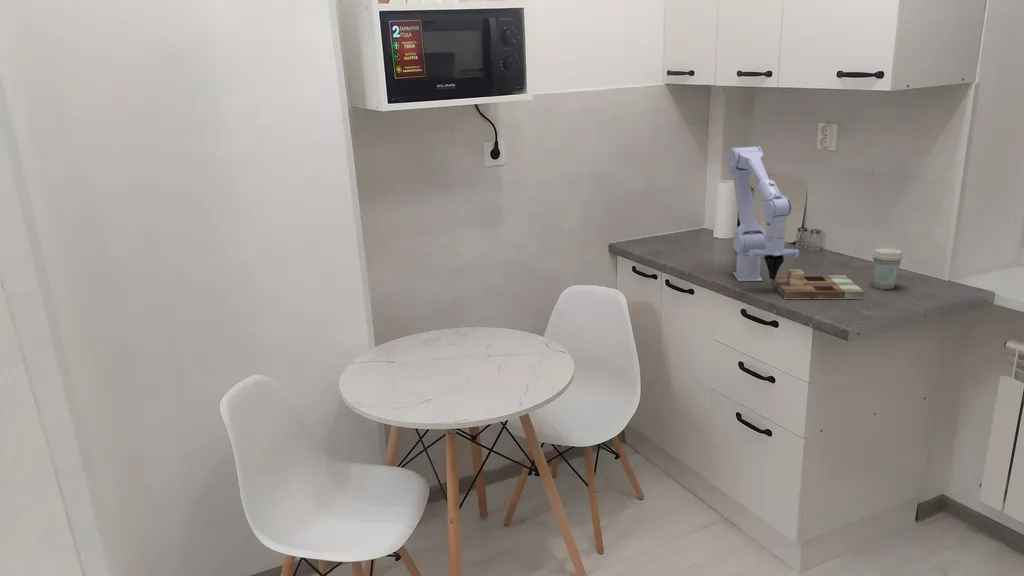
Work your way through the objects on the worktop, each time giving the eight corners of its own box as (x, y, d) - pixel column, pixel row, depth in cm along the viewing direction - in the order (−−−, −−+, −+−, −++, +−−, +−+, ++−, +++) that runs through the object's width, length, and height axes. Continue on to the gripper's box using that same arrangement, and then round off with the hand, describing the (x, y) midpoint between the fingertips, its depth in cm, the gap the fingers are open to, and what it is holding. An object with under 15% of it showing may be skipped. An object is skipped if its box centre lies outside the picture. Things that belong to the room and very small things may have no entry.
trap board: (771, 283, 234) (772, 275, 234) (844, 282, 232) (845, 275, 231) (784, 299, 218) (785, 292, 218) (863, 299, 216) (864, 291, 215)
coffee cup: (864, 287, 226) (868, 251, 223) (874, 281, 232) (878, 245, 228) (893, 292, 221) (898, 255, 217) (902, 286, 226) (907, 250, 223)
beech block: (786, 281, 227) (787, 269, 226) (799, 281, 227) (800, 269, 226) (790, 285, 223) (791, 273, 222) (803, 285, 223) (804, 273, 222)
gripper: (754, 240, 218) (751, 282, 222) (803, 239, 217) (799, 281, 221) (749, 234, 225) (746, 275, 229) (796, 234, 223) (793, 275, 227)
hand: (772, 278), depth 225 cm, fingers closed
